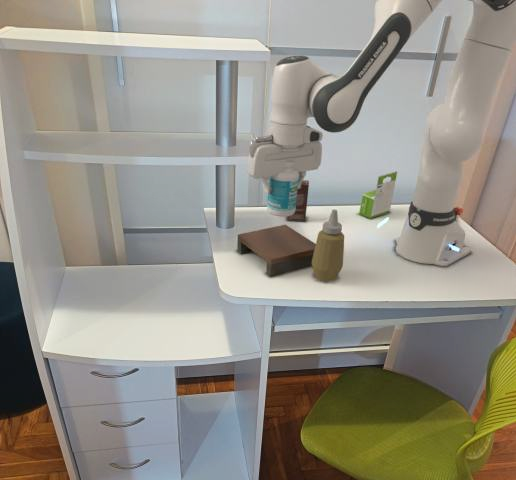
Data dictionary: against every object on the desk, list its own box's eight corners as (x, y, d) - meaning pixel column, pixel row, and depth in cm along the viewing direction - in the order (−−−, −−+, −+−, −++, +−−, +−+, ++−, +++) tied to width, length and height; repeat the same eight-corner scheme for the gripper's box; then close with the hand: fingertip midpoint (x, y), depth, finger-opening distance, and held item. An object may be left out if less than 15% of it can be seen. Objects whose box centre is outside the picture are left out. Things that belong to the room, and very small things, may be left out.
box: (305, 216, 165) (309, 179, 158) (305, 222, 161) (309, 184, 154) (287, 215, 165) (290, 178, 158) (286, 220, 162) (289, 183, 155)
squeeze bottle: (316, 285, 128) (325, 217, 118) (305, 270, 134) (312, 205, 124) (346, 282, 130) (357, 215, 120) (333, 268, 136) (343, 203, 126)
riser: (284, 240, 149) (285, 224, 146) (319, 264, 138) (321, 247, 135) (237, 251, 142) (237, 234, 139) (270, 277, 131) (271, 259, 128)
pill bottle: (292, 219, 129) (297, 165, 121) (264, 215, 130) (267, 162, 122) (297, 208, 135) (301, 156, 127) (269, 205, 136) (272, 153, 128)
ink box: (377, 207, 175) (385, 166, 166) (390, 212, 171) (399, 171, 163) (358, 214, 169) (365, 172, 161) (370, 219, 166) (378, 176, 158)
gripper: (257, 141, 114) (254, 200, 122) (328, 133, 123) (321, 189, 132) (243, 134, 118) (241, 192, 126) (312, 127, 128) (307, 181, 136)
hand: (282, 190), depth 129 cm, fingers closed on pill bottle, 7 cm apart
